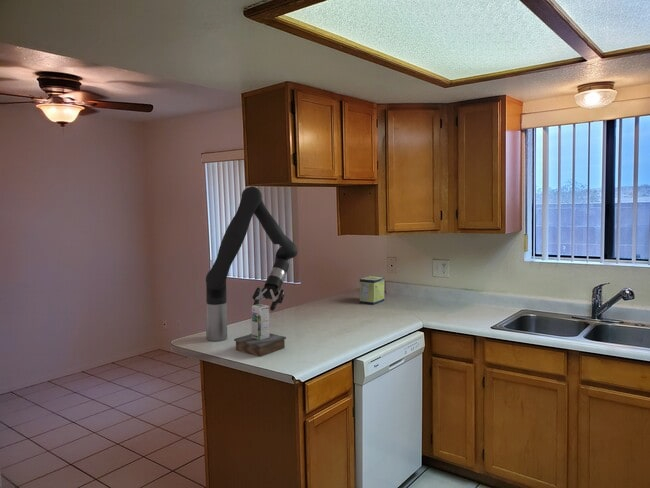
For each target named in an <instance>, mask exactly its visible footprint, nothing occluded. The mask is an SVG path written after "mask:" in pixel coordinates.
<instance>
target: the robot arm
mask: <svg viewBox="0 0 650 488" xmlns="http://www.w3.org/2000/svg"><path fill="white" fill-rule="evenodd" d="M240 196H241V198H240V200H239V201H240V202H239V204H238V208H237V211H236V213H235V214H234V216H233V218H231V221H230V223H229V224H228V226H227V227H226V230H225V232H224V234H223V237H222V238H221V239H222V240H221V242H220V246H219V249H218V252H217V255H216V259H215V261H214V263H213V264H212V267H211V268H210V270H209V271H207V274H206V275H205V286H206V294H205V296H206V300H205V301H206V318H205V335H206V340H207V341H210V342H219V341H220V342H221V341H225V340H226V339H228V311H227V310H228V309H227V308H228V307H227V306H228V305H227V301H228V300H227V278H228V275H229V271H230V269H231V266H232V264H233V262H234V261H235V259H236V257H237V255H238V253H239V251H240V250H241V247H242V244H243V243H244V241H245V238H246V235H247V233H248V229H249V227H250V223H251V221H252V218H253V216H255V217H256V218H257V220H258V222H259V223H260V225H261V227H262V229H263V230H264V232H265V233H266V235H267V236H268V238H269V239H270V241H271V243H272V244H273V245H278V246H280V247H279V248H278V249H277V250H276V253H275V258H274V263H273V265H272V268H271V270H270V272H269V273H268V275H267V278H266V280H265V282H264V286H263V288H260V287H256V289H255V291H254V293H253V295H252V299H253V301H254V302H253V304H252V306H253V305H257V304H260V302H261V301H264V300H265V299H266V300H267V299H269V300H273V301H272V303H271V305H270V306H269V311H271V312H273V311H275V310H276V307H277V305H278V304H282V303H283V300H284V298H285V294H286V293H285V291H284V289H282V286H283V284H284V282H285V279H286V276H287V273H288V270H289V266H290V264H289V262H288V260H291V259H293V258H295V257H296V256H298V248H297V246H296V244H295V243H294V242H293V241H292V240H291V239H290V238H289V237H288V236H287V235H286V234H285V232H284V231H283V229H282V228H281V227H280V225H279V224H278V222H277V221H276V220H275V218H274V217H273V216H272V214H271V213H270V212H269V210H268V209H267V207H266V205H265V203H264V200H263V195H262V192H261V190H260V189H259V188H258V187H255V186H248V187H246V188H245V189H243V191H242V192H241V195H240ZM277 296H278V298H277Z"/></svg>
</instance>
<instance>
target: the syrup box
mask: <svg viewBox="0 0 650 488" xmlns="http://www.w3.org/2000/svg"><path fill="white" fill-rule="evenodd" d="M269 333H270V305H266V304H262V303H259V304H257V305H253V304H252V305H251V334H252V338H255V339H258V340H262V339H266V338H269Z"/></svg>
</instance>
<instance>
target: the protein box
mask: <svg viewBox="0 0 650 488" xmlns="http://www.w3.org/2000/svg"><path fill="white" fill-rule="evenodd" d="M384 301H385V276H383V277H382V276H373V275H369V276H367V277H362V278H359V304H363V303H364V304H365V305H373V306H374V304H375V305H377V304H380V303H382V302H384ZM379 302H380V303H379Z"/></svg>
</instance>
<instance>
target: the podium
mask: <svg viewBox="0 0 650 488" xmlns="http://www.w3.org/2000/svg"><path fill="white" fill-rule="evenodd" d="M286 339H287V337H286V336H283V335H278V334H275V333H270V332H269V338H266V339H262V340H258V339H255V338H252V333H250V334H246V335H243V336H240V337H236V338H234V339H233V342H235V350H236V351H238V352H242V353H244V354H245V353H246V354H249V355H253V356H257V357H263V356H266V355H269V354H272V353H275V352H277V351H281V350H283V349H285V347H286V346H285V345H286V343H285V340H286Z"/></svg>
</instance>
